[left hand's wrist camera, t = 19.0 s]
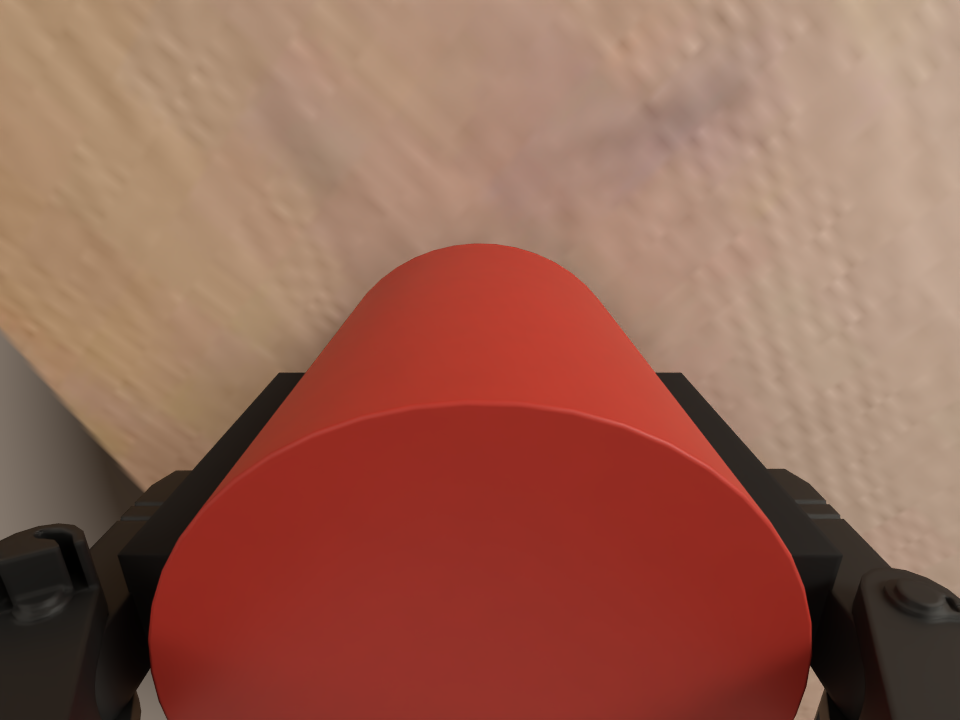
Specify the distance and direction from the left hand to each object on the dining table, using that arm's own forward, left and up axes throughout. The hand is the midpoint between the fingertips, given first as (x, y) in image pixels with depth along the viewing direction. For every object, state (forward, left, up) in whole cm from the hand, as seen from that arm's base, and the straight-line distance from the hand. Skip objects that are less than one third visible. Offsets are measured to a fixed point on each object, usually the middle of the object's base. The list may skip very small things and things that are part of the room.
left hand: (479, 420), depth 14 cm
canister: (0, 0, -2) cm, 2 cm away
